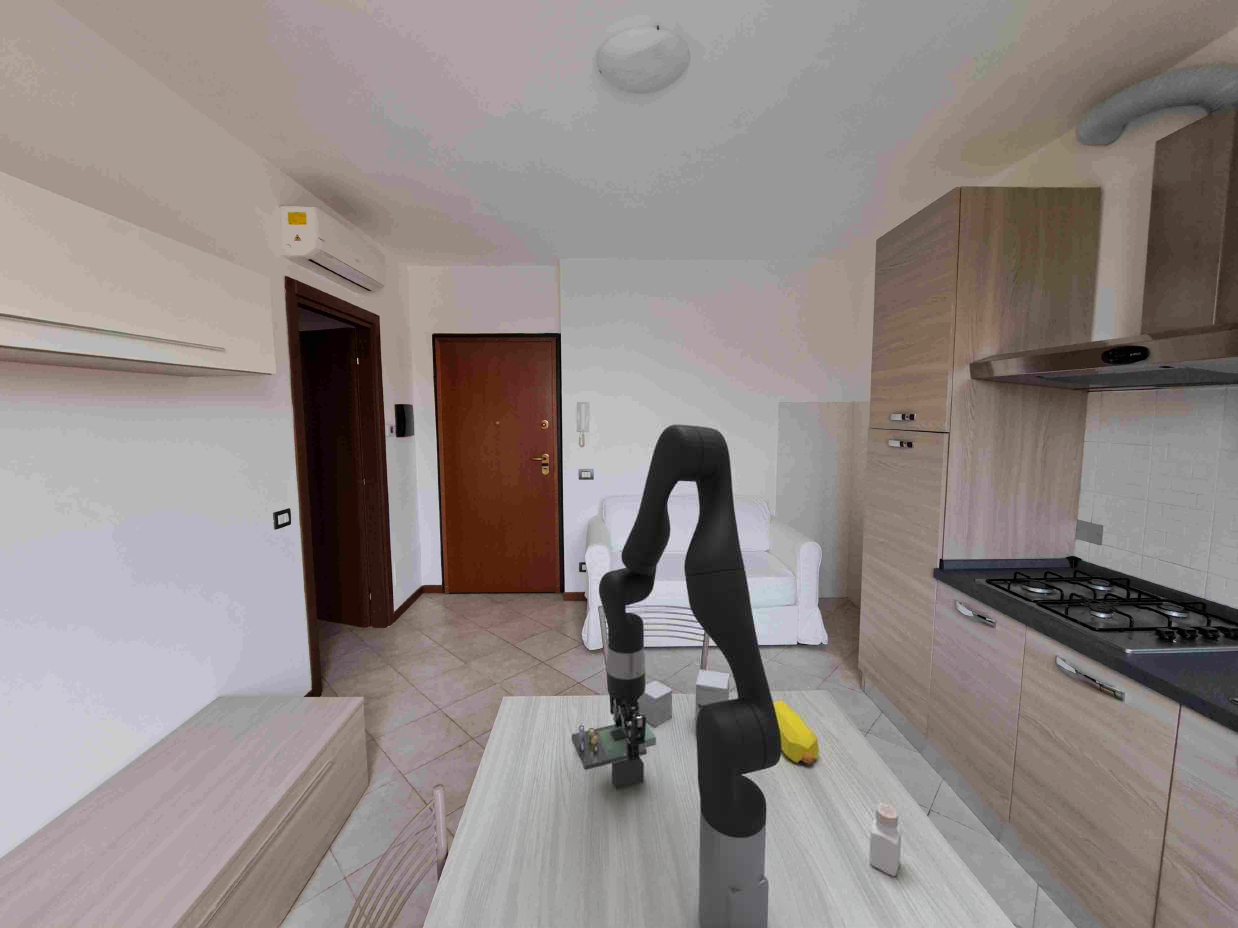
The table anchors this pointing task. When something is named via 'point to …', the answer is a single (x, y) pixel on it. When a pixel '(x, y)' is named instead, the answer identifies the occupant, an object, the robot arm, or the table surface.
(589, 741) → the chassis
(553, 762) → the table surface
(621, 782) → the block
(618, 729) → the board
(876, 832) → the salt shaker
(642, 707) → the product box
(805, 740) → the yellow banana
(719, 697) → the supplement box
